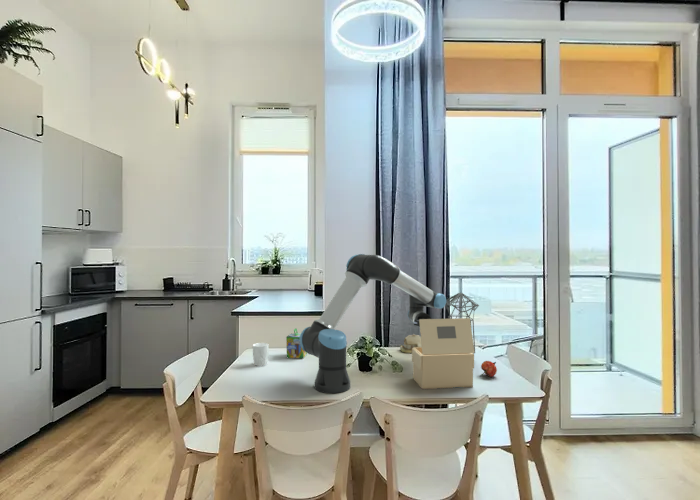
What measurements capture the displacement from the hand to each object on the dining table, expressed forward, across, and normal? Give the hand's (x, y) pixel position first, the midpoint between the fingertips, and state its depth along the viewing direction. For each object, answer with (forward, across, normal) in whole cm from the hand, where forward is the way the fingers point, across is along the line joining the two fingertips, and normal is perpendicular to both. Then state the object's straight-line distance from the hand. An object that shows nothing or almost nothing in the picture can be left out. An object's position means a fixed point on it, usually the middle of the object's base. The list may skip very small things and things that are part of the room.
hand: (437, 329), depth 187 cm
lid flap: (+12, 0, -1) cm, 12 cm away
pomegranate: (+1, -24, -22) cm, 32 cm away
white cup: (-30, +81, -22) cm, 89 cm away
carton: (+7, 0, -22) cm, 23 cm away
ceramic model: (-46, -2, -22) cm, 51 cm away
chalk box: (-43, +63, -22) cm, 80 cm away
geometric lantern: (-27, -22, -22) cm, 41 cm away
